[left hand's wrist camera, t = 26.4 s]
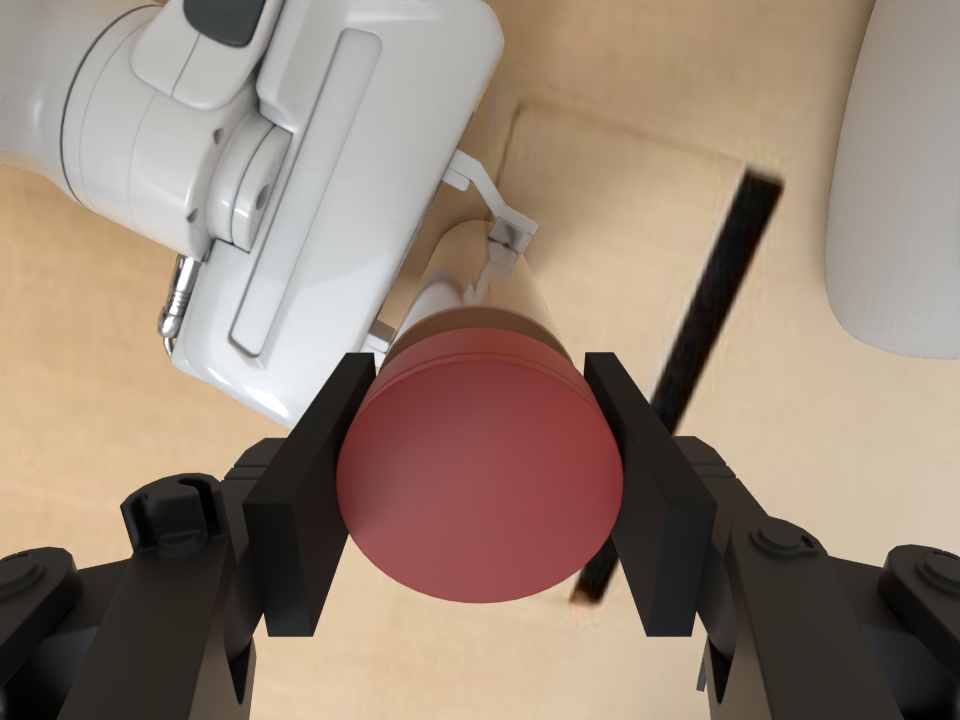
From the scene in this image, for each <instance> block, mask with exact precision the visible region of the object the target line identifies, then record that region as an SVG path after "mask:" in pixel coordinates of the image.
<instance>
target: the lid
mask: <svg viewBox="0 0 960 720" xmlns="http://www.w3.org/2000/svg"><path fill="white" fill-rule="evenodd" d="M623 486H624V471H623V464H622V458H621V454H620V451H619V448H618V445H617V442H616V440H615V438H614V436H613V434H612V431H611V429H610V427H609V425H608V423H607V421H606V419H605V417H604V415H603V413H602V411H601V409H600V407H599V405H598V403H597V400H596V398H595V396H594V394H593V392H592V390H591V388H590V386H589V385H588V383H587V382H586V380H585V379H584V377H583V376H582V375H581V373H580V372H579V371H578V370H577V369H576V368H575V367H574V366H573V365H572V364H571V362H569V361H568V360H567V359H566V358H565V357H563V356H562V355H561V354H560V353H558V352H557V351H555V350H554V349H552V348H551V347H549V346H547V345H546V344H544V343H542V342H540V341H538V340H535V339H533V338H531V337H529V336H526V335H522V334H519V333H516V332H512V331H507V330H501V329H495V328H466V329H457V330H453V331H448V332H443V333H440V334H437V335H434V336H431V337H428V338H426V339H424V340H422V341H420V342H418V343H416V344H414V345H412V346H410V347H409V348H407V349H406V350H404V351H403V352H401V353H400V354H398V355H397V356H396V357H395V358H394V359H393V360H391V361H390V362H389V363H388V364H387V365H386V366H385V367H384V368H383V369H382V371H381V372H380V373H379V374H378V375H377V377H376V378H375V379H374V381H373V383H372V384H371V386H370V387H369V389H368V391H367V393H366V395H365V397H364V399H363V401H362V403H361V405H360V407H359V409H358V411H357V413H356V415H355V417H354V419H353V421H352V424H351V426H350V428H349V430H348V432H347V434H346V436H345V439H344V441H343V444H342V446H341V448H340V452H339V456H338V460H337V465H336V490H337V498H338V505H339V510H340V513H341V516H342V519H343V521H344V524H345V526H346V528H347V530H348V532H349V534H350V535H351V537H352V539H353V541H354V542H355V543H356V545H357V546H358V547H359V549H360V550H361V551H362V553H363V554H364V555H365V556H366V557H367V558H368V559H369V560H370V561H371V562H372V563H373V564H374V565H375V566H376V567H378V568H379V569H380V570H381V571H383V572H384V573H385V574H386V575H388V576H389V577H391V578H393V579H394V580H396V581H397V582H399V583H401V584H403V585H405V586H407V587H409V588H411V589H413V590H415V591H418V592H420V593H423V594H426V595H429V596H432V597H436V598H440V599H444V600H448V601H456V602H463V603H496V602H504V601H510V600H516V599H520V598H523V597H527V596H531V595H534V594H536V593H539V592H541V591H544V590H547V589H549V588H551V587H553V586H555V585H557V584H558V583H560V582H562V581H564V580H565V579H567V578H568V577H570V576H571V575H573V574H574V573H576V572H577V571H578V570H579V569H581V568H582V567H583V566H584V565H585V564H586V563H588V562H589V561H590V560H591V558H592V557H593V556H594V555H595V554H596V553H597V552H598V551H599V550H600V548H601V547H602V545H603V544H604V542H605V541H606V539H607V538H608V537H609V535H610V533H611V531H612V529H613V527H614V525H615V523H616V520H617V517H618V514H619V511H620V508H621V503H622V495H623Z"/></svg>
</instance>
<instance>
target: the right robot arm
mask: <svg viewBox="0 0 960 720" xmlns="http://www.w3.org/2000/svg"><path fill="white" fill-rule="evenodd" d="M504 45H505V39H504V36H503V32H502V29H501V26H500V23H499V20H498V18H497V15H496V13H495V12H494V10H493V9H492V8H491V7H490V6H489V5H488V4H487V3H485V2H484V1H482V0H169V1H168V2H167V3H166V4H165V5H163V4H160V3H158V2H155V1H153V0H0V165H4V166H8V167H13V168H17V169H23V170H27V171H30V172H33V173H36V174H38V175H40V176H42V177H44V178H45V179H47V180H48V181H50V182H51V183H53V184H54V185H55V186H56V187H57V188H58V189H60V190H61V191H62V192H63V193H64V194H65V195H67V196H68V197H69V198H71V199H72V200H73V201H75V202H76V203H78V204H79V205H81V206H83V207H84V208H86V209H88V210H91V211H93V212H95V213H97V214H99V215H101V216H103V217H105V218H107V219H109V220H111V221H113V222H115V223H118V224H120V225H122V226H124V227H126V228H128V229H130V230H132V231H134V232H136V233H138V234H140V235H143V236H145V237H147V238H149V239H151V240H153V241H155V242H157V243H159V244H161V245H164V246H166V247H168V248H170V249H172V250H174V251H176V252H178V253H179V254H178V257H177V260H176V264H175V267H174V270H173V274H172V277H171V281H170V287H169V294H168V297H167V301H166V304H165V306H164V307H163V308H162V310H161V312H160V315H159V318H158V324H157V332H158V333H159V334H160V335H161V336H163V343H164V347H165V350H166V353H167V354H168V356H169V358H170V360H171V363H172V364H173V365H174V366H175V367H176V368H177V369H179V370H180V371H182V372H184V373H186V374H188V375H190V376H193V377H195V378H197V379H200V380H202V381H204V382H206V383H209V384H212V385H213V386H215V387H216V388H218V389H219V390H221V391H223V392H224V393H226V394H227V395H229V396H230V397H232V398H234V399H235V400H237V401H239V402H240V403H242V404H244V405H245V406H247V407H249V408H251V409H253V410H254V411H256V412H258V413H260V414H262V415H264V416H265V417H267V418H269V419H271V420H273V421H275V422H277V423H279V424H281V425H283V426H285V427H287V428H290V429H292V430H293V429H294V427H295V426H296V424H297V423H298V421H299V420H300V418H301V417H302V416H303V414H304V413H305V411H306V410H307V408H308V407H309V405H310V404H311V403H312V401H313V400H314V398H315V397H316V395H317V394H318V392H319V391H320V389H321V388H322V387H323V385H324V384H325V382H326V381H327V379H328V378H329V376H330V375H331V374H332V372H333V371H334V369H335V368H336V366H337V365H338V363H339V362H340V361H341V359H342V358H343V356H344V355H345V353H346V352H374V356H375V366H376V367H379V368H380V367H381V364H382V362H383V360H384V358H385V356H386V354H387V351H388V349H389V347H390V345H391V343H392V341H393V340H392V339H393V337H394V335H395V333H396V330H395V329H394V328H392V327H390V326H388V325H386V324H384V323H382V322H380V321H378V320H377V317H378V315H379V313H380V311H381V309H382V307H383V305H384V303H385V300H386V298H387V296H388V294H389V292H390V290H391V288H392V286H393V284H394V282H395V279H396V277H397V275H398V273H399V271H400V269H401V267H402V265H403V263H404V261H405V258H406V256H407V254H408V252H409V250H410V248H411V246H412V244H413V242H414V240H415V238H416V235H417V233H418V231H419V229H420V227H421V225H422V223H423V221H424V219H425V217H426V214H427V212H428V210H429V208H430V206H431V204H432V202H433V200H434V198H435V196H436V193H437V191H438V189H439V187H440V185H441V183H442V181H444V182H446V183H448V184H450V185H451V186H453V187H455V188H457V189H459V190H461V191H466V190H467V188H468V186H469V184H470V182H471V180H472V181H473V182H474V184H475V185H476V187H477V189H478V190H479V192H480V194H481V195H482V197H483V199H484V200H485V202H486V204H487V205H488V207H489V208H490V210H491V212H492V213H493V215H494V217H495V218H494V220H493V222H492V224H491V226H490V228H489V230H488V237H490V238H492V239H493V240H495V241H497V242H499V243H502V244H505V243H508V245H509V247H510V248H511V249H512V250H514V251H515V252H517V253H520V254H523V253H524V251H525V249H526V247H527V246H528V244H529V242H530V241H531V239H532V237H533V235H534V233H535V232H536V230H537V228H538V226H539V225H538V224H537V223H536V222H535V221H533V220H532V219H530V218H529V217H527V216H525V215H523V214H521V213H520V212H518V211H516V210H514V209H512V208H511V207H509V206H507V205H505V202H504V200H503V199H502V197H501V195H500V194H499V192H498V190H497V189H496V187H495V185H494V183H493V182H492V180H491V178H490V177H489V175H488V173H487V172H486V170H485V168H484V167H483V165H482V163H481V162H480V161H478V160H477V159H475V158H473V157H471V156H470V155H468V154H466V153H464V152H463V151H461V150H459V149H458V147H459V145H460V143H461V141H462V139H463V137H464V135H465V133H466V131H467V128H468V126H469V124H470V122H471V120H472V118H473V116H474V114H475V112H476V110H477V107H478V105H479V103H480V101H481V99H482V97H483V95H484V93H485V91H486V89H487V87H488V84H489V82H490V80H491V78H492V76H493V74H494V72H495V70H496V68H497V65H498V63H499V61H500V59H501V57H502V54H503V51H504ZM174 338H177V340H176V343H175V346H174V345H173V339H174Z"/></svg>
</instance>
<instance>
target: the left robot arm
mask: <svg viewBox="0 0 960 720" xmlns="http://www.w3.org/2000/svg"><path fill="white" fill-rule="evenodd" d="M375 378H376V368H375V356H374V352H346V353H345V355H344V356H343V358H342V359H341V361H340V362H339V363H338V365H337V366H336V368H335V369H334V371H333V372H332V374H331V375H330V376H329V378H328V379H327V381H326V382H325V384H324V385H323V387H322V388H321V389H320V391H319V392H318V394H317V395H316V397H315V398H314V400H313V401H312V403H311V404H310V405H309V407H308V408H307V410H306V411H305V413H304V414H303V416H302V417H301V418H300V420H299V421H298V423H297V424H296V426H295V427H294V429H293V430H292V431H291V433H290V434H289V436H288V437H287V438H264V439H263V440H261V441H260V442H258V443H257V444H255V445H253V446H252V447H250V448H249V449H247V450H246V451H245V452H244V453H243V454H242V456H241V457H240V458H239V459H238V461H237V462H236V463H235V464H234V468H231V469H230V471H229V472H228V473H227V474H226V476H225V477H224V480H222V481H221V482H219V481H218V480H217V479H216V478H214V477H213V476H212V475H207V474H202V473H183V474H178V475H173V476H169V477H165V478H161V479H159V480H157V481H154V482H152V483H149V484H147V485H144V486H143V487H141V488H140V489H138V490H137V491H135V492H134V493H132V494H130V495H129V496H128V497H127V498H126V500H125V501H124V502H123V503H122V504H121V505H120V509H121V512H122V515H123V518H124V522H125V525H126V528H127V531H128V535H129V538H130V541H131V545H132V548H133V551H134V552H133V555H132V557H131V558H129V559H125V560H122V561H117V562H113V563H108V564H103V565H99V566H94V567H89V568H85V569H80V570H77V568H76V565H75V562H74V560H73V557H72V555H71V554H70V553H69V552H68V551H66V550H65V549H64V548H55V547H44V548H37V549H30V550H26V551H22V552H18V553H17V554H16V553H15V554H12V555H10V556H7V557H4V558H2V559H1V560H0V720H249V716H250V708H251V699H252V691H253V682H254V674H255V665H256V650H255V644H254V639H253V633H254V631H255V629H256V627H257V625H258V623H259V621H260V619H261V616H262V614H263V612H264V617H265V622H266V627H267V632H268V637H313V635H314V632H315V629H316V626H317V623H318V621H319V618H320V615H321V612H322V609H323V606H324V603H325V600H326V598H327V595H328V592H329V589H330V586H331V583H332V580H333V578H334V575H335V572H336V569H337V566H338V563H339V560H340V558H341V555H342V552H343V549H344V546H345V543H346V540H347V537H348V535H349V532H348V530H347V528H346V526H345V524H344V521H343V519H342V516H341V513H340V510H339V505H338V498H337V490H336V465H337V460H338V456H339V452H340V448H341V446H342V444H343V441H344V439H345V436H346V434H347V432H348V430H349V428H350V426H351V424H352V421H353V419H354V417H355V415H356V413H357V411H358V409H359V407H360V405H361V403H362V401H363V399H364V397H365V395H366V393H367V391H368V389H369V387H370V386H371V384H372V383H373V381H374V379H375ZM584 379H585V380H586V382H587V383H588V385H589V386H590V388H591V390H592V392H593V394H594V396H595V398H596V400H597V403H598V405H599V407H600V409H601V411H602V413H603V415H604V417H605V419H606V421H607V423H608V425H609V427H610V429H611V431H612V434H613V436H614V438H615V440H616V442H617V445H618V448H619V451H620V454H621V458H622V464H623V471H624V486H623V495H622V503H621V508H620V511H619V514H618V517H617V520H616V523H615V525H614V527H613V529H612V531H611V536H612V538H613V541H614V544H615V547H616V550H617V553H618V556H619V558H620V561H621V564H622V567H623V570H624V573H625V576H626V579H627V581H628V584H629V587H630V590H631V593H632V596H633V599H634V601H635V604H636V607H637V610H638V613H639V616H640V619H641V621H642V624H643V627H644V630H645V633H646V636H647V637H691V635H692V630H693V625H694V620H695V615H696V611H697V612H698V614H699V617H700V619H701V621H702V623H703V625H704V627H705V629H706V631H707V633H708V635H707V639H706V644H705V649H704V653H703V658H702V663H701V667H700V672H699V676H698V683H697V690H699V691H703V692H704V688H705V684H706V681H707V690H708V698H709V706H710V715H711V720H960V557H959V556H957V555H955V554H952V553H950V552H947V551H942V550H940V549H936V548H932V547H927V546H920V545H913V544H910V545H902V546H896V547H895V548H894V549H892V550H891V551H890V552H889V553H888V555H887V558H886V561H885V564H884V567H883V568H882V567H877V566H872V565H868V564H863V563H858V562H853V561H849V560H844V559H839V558H836V557H832V556H828V554H827V551H826V550H825V549H824V547H823V546H822V545H821V543H820V542H819V541H818V539H816V538H815V537H814V536H812V535H811V534H810V533H808V532H807V531H806V530H804V529H803V528H800V527H798V526H796V525H794V524H792V523H790V522H788V521H785V520H782V519H778V518H774V517H770V516H768V515H767V513H766V512H765V511H764V510H763V508H762V507H761V506H760V505H759V503H758V502H757V501H756V500H755V498H754V497H753V496H752V495H751V494H750V492H749V491H748V490H747V489H746V487H745V486H744V485H743V484H742V482H741V481H740V480H739V479H738V478H736V475H735V474H734V472H733V471H732V470H731V469H730V468H729V466H726V463H725V461H724V460H723V459H722V458H721V456H720V455H719V454H718V453H717V451H716V450H715V449H714V448H712V447H711V446H709V445H708V444H706V443H705V442H703V441H701V440H700V439H698V438H697V437H695V436H671V435H670V433H669V432H668V431H667V429H666V428H665V426H664V425H663V423H662V422H661V420H660V419H659V418H658V416H657V415H656V413H655V412H654V410H653V409H652V407H651V406H650V404H649V403H648V402H647V400H646V399H645V397H644V396H643V394H642V393H641V391H640V390H639V389H638V387H637V386H636V384H635V383H634V381H633V380H632V378H631V377H630V376H629V374H628V373H627V371H626V370H625V368H624V367H623V365H622V364H621V362H620V361H619V360H618V358H617V357H616V355H615V354H614V352H585V364H584Z"/></svg>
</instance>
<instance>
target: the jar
mask: <svg viewBox="0 0 960 720" xmlns="http://www.w3.org/2000/svg"><path fill="white" fill-rule="evenodd" d="M491 224H492V222H490V221H485V220H471V221H466V222H463V223H460V224H458V225H456V226H454V227H453V228H451V229H450V230H449V231H448V232H446V233H445V234H444V236H443V237H442V238H441V239H440V241H439V242H438V244H437V246H436V248H435V250H434V252H433V254H432V257H431V259H430V261H429V263H428V265H427V267H426V270H425V272H424V274H423V276H422V278H421V280H420V283H419V285H418V287H417V289H416V291H415V293H414V295H413V298H412V300H411V302H410V304H409V306H408V308H407V311H406V313H405V315H404V317H403V319H402V321H401V323H400V326H399V328H398V330H397V332H396V334H395V336H394V339H393V341H392V343H391V345H390V347H389V349H388V351H387V354H386V356H385V358H384V360H383V362H382V364H381V367H380V370H379V373H380V372H381V371H382V369H383V368H384V367H385V366H386V365H387V364H388V363H389V362H390V361H391V360H393V359H394V358H395V357H396V356H397V355H398V354H400V353H401V352H403V351H404V350H406V349H407V348H409V347H410V346H412V345H414V344H416V343H418V342H420V341H422V340H424V339H426V338H428V337H431V336H434V335H437V334H440V333H443V332H448V331H453V330H457V329H466V328H495V329H501V330H507V331H512V332H516V333H519V334H522V335H526V336H529V337H531V338H533V339H535V340H538V341H540V342H542V343H544V344H546V345H547V346H549V347H551V348H552V349H554V350H555V351H557V352H558V353H560V354H561V355H562V356H563V357H565V358H566V359H567V360H568V361H569V362H571V364H572V365H573V363H572V360H571V358H570V356H569V354H568V351H567V349H566V347H565V345H564V343H563V340H562V338H561V336H560V334H559V332H558V329H557V327H556V325H555V323H554V321H553V318H552V316H551V314H550V312H549V310H548V307H547V305H546V303H545V301H544V299H543V296H542V294H541V292H540V290H539V288H538V285H537V283H536V281H535V279H534V276H533V274H532V272H531V270H530V268H529V265H528V263H527V261H526V259H525V257H524V254H520V253H517V252H515V251H514V250H512V249H511V248H510V247H509V245H508V243H505V244H502V243H499V242H497V241H495V240H493V239H492V238H490V237H488V230H489V228H490V226H491ZM573 366H574V365H573ZM379 373H378V374H379Z"/></svg>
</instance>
